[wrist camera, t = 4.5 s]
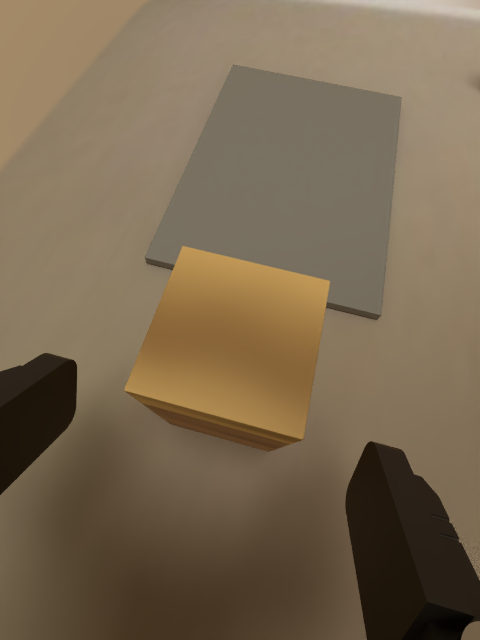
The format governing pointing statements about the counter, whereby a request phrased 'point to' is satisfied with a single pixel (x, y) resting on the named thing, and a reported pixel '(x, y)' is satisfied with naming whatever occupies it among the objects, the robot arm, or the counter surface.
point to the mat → (292, 184)
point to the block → (233, 350)
